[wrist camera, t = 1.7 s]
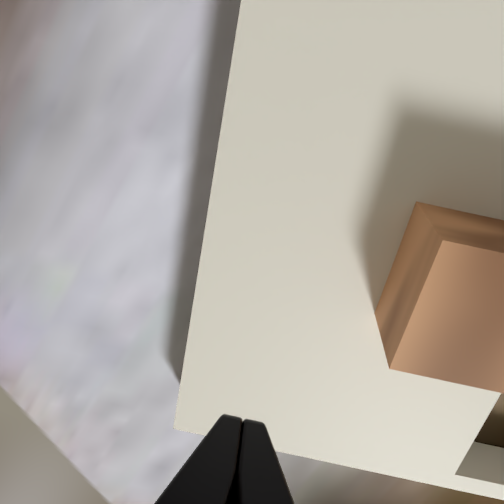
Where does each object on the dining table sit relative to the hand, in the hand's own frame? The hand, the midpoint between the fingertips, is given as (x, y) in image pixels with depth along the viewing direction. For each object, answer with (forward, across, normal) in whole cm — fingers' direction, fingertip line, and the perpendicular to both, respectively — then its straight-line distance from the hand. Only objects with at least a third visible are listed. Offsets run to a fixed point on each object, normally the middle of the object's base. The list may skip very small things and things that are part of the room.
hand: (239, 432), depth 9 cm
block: (+10, -7, 0) cm, 12 cm away
